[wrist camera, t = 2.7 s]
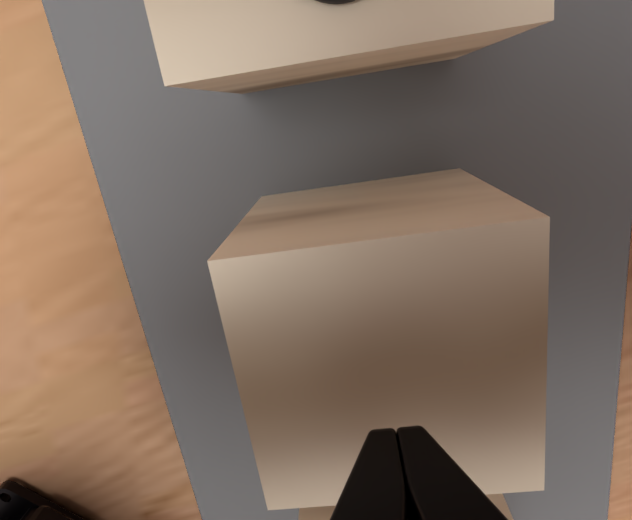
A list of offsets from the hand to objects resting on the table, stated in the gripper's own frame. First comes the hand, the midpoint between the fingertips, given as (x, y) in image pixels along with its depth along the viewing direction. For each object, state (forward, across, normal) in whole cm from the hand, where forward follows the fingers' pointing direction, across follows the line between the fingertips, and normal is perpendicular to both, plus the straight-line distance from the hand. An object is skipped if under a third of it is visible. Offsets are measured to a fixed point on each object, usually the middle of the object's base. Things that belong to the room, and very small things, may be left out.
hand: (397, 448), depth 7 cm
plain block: (+8, 0, 0) cm, 8 cm away
